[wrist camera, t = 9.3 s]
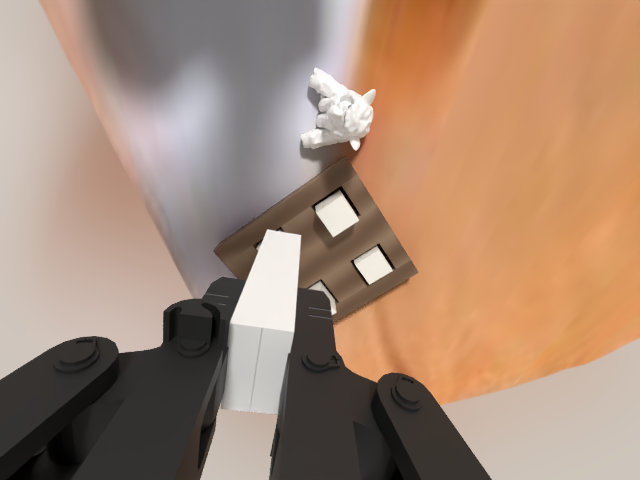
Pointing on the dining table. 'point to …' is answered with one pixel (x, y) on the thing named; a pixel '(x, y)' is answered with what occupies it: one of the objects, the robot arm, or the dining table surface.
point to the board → (325, 240)
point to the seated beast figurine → (338, 113)
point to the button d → (372, 264)
